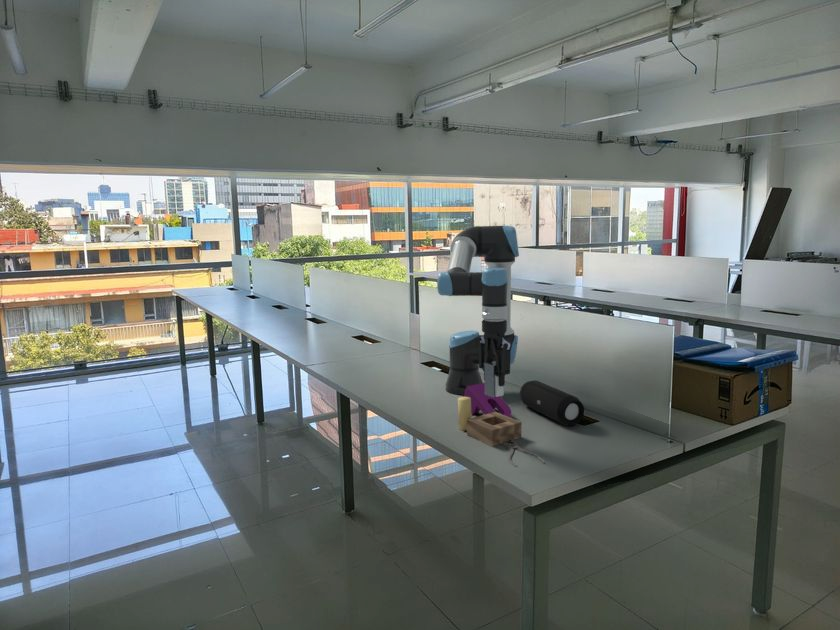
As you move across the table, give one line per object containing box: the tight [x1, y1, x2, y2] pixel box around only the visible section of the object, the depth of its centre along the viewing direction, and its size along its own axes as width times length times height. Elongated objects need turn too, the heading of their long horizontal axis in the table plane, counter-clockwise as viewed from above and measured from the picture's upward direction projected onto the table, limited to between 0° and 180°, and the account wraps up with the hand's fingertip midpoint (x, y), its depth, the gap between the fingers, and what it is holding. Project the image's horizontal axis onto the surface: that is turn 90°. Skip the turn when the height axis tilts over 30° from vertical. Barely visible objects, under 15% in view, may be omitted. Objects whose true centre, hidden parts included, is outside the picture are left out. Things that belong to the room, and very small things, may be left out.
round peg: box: [457, 396, 472, 432], centre depth 184 cm, size 4×4×10 cm
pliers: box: [502, 439, 546, 468], centre depth 165 cm, size 10×1×20 cm
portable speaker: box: [519, 380, 585, 426], centre depth 195 cm, size 26×10×10 cm, turn 23°
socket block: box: [466, 411, 522, 447], centre depth 178 cm, size 12×12×5 cm
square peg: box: [484, 361, 497, 398], centre depth 175 cm, size 4×4×10 cm
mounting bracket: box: [462, 382, 512, 418], centre depth 198 cm, size 9×8×18 cm
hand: (494, 393), depth 176 cm, fingers closed on square peg, 4 cm apart
